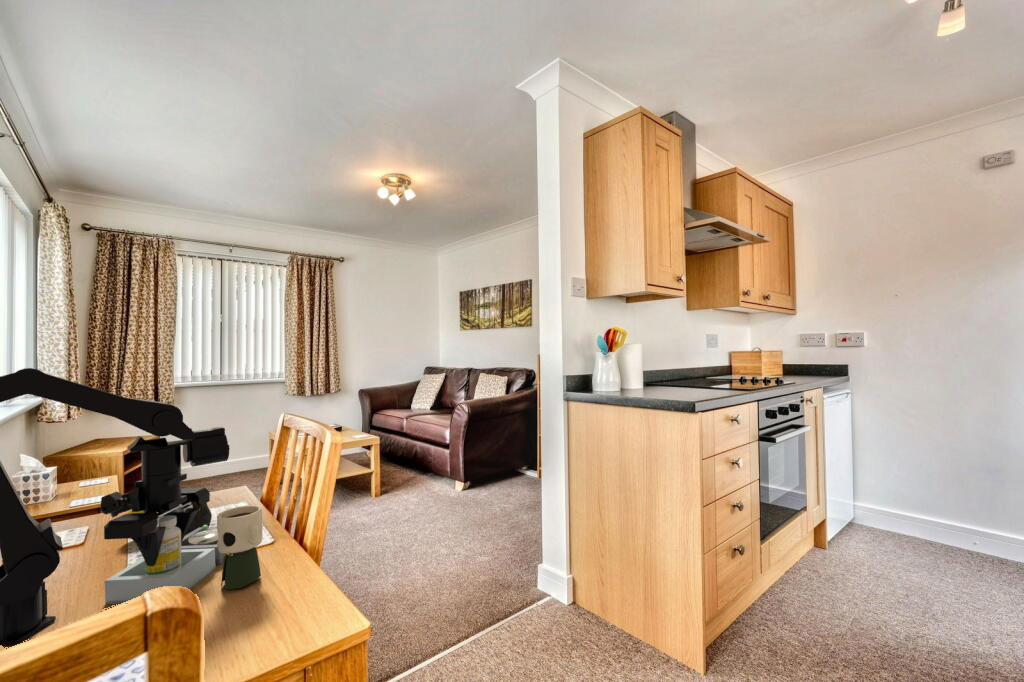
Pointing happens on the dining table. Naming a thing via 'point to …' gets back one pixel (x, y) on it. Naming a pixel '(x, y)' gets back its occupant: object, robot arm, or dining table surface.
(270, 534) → the dining table surface
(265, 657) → the dining table surface
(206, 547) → the grey square tray
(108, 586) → the bin
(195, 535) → the disc
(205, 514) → the mate gourd
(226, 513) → the character mug
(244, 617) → the dining table surface
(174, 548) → the supplement bottle
